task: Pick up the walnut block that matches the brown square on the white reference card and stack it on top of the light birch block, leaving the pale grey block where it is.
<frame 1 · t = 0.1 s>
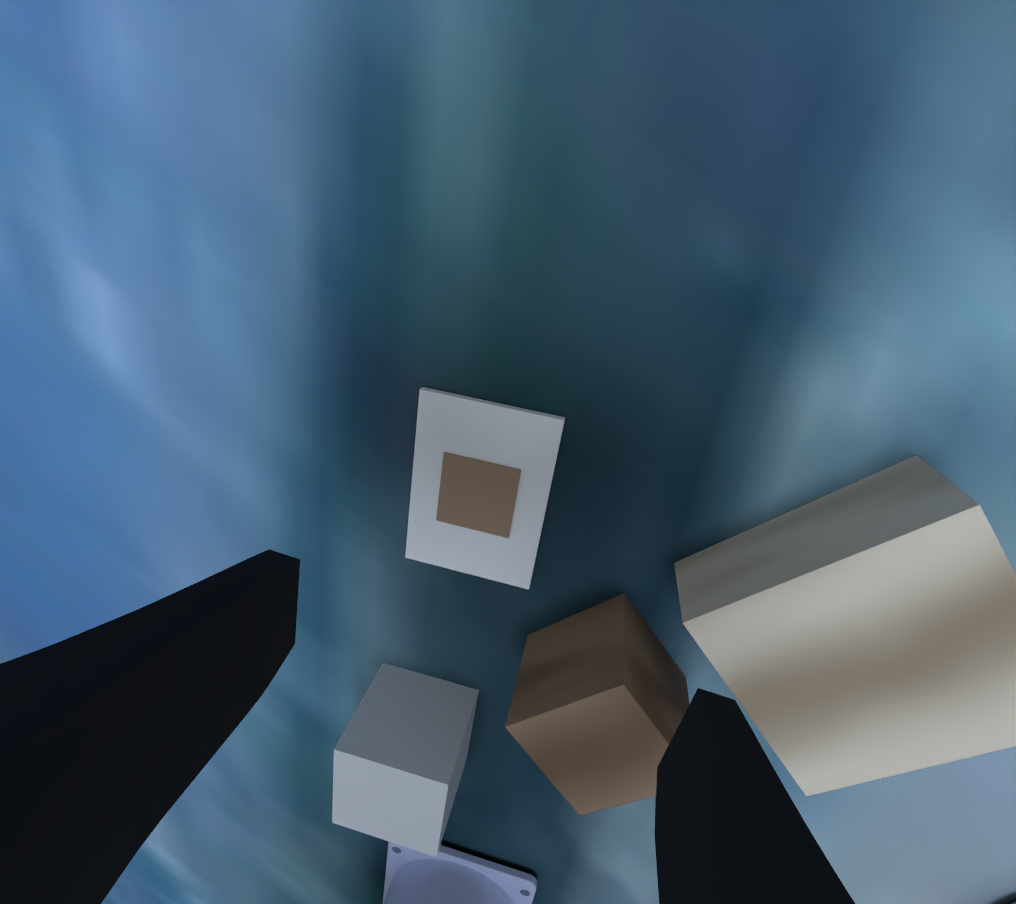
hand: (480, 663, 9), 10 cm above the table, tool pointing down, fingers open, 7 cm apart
walnut block: (605, 654, 21), on the table
grey block: (426, 709, 25), on the table
birch base block: (836, 596, 19), on the table
reference card: (479, 491, 19), on the table
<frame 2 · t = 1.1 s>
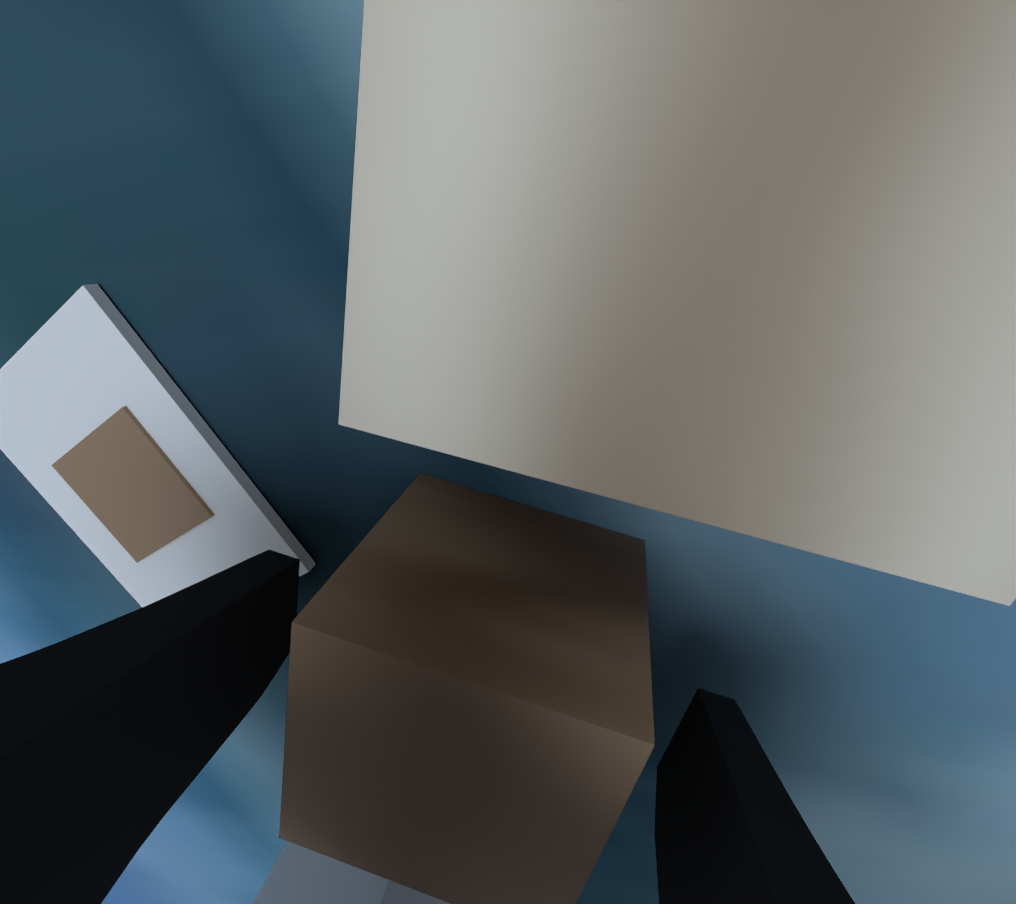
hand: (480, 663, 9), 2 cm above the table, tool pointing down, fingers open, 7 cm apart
walnut block: (506, 593, 11), on the table
grey block: (414, 836, 15), on the table
birch base block: (723, 164, 8), on the table
reference card: (145, 482, 12), on the table
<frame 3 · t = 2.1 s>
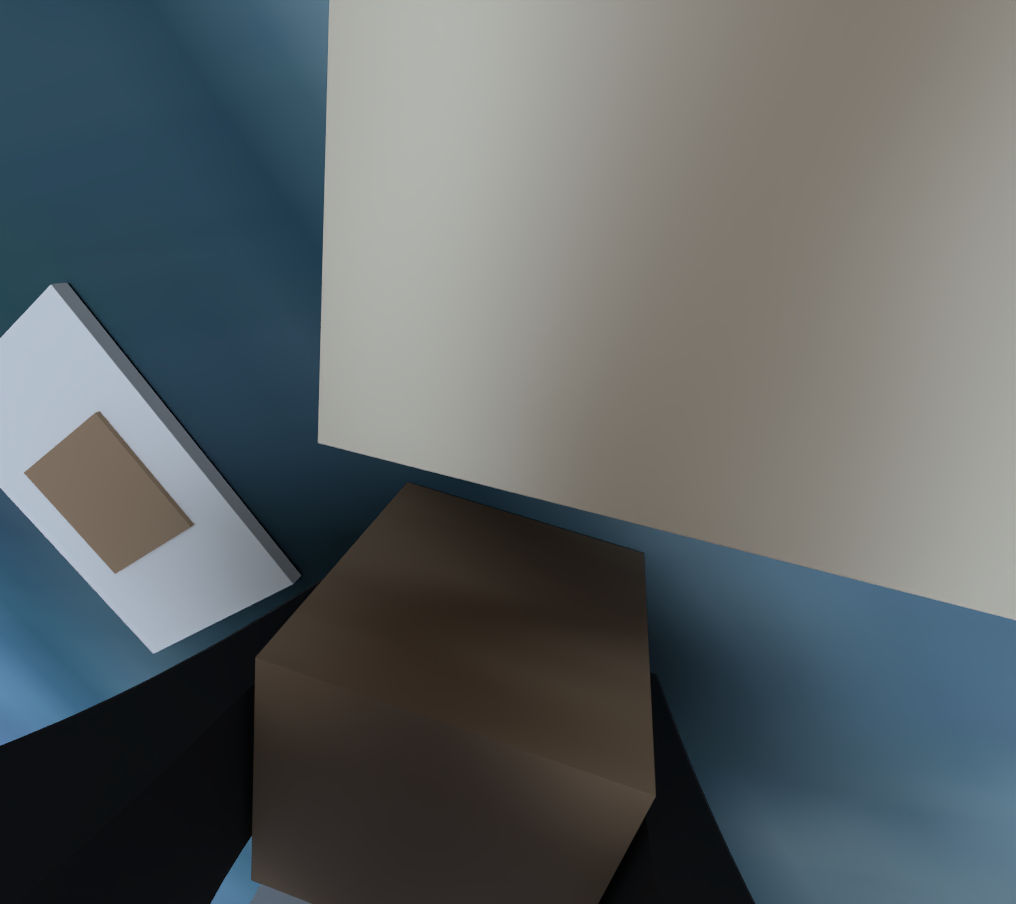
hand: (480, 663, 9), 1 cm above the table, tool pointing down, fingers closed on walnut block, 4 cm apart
walnut block: (497, 610, 11), on the table, touching gripper
grey block: (406, 853, 15), on the table
birch base block: (729, 154, 7), on the table
reference card: (122, 490, 11), on the table
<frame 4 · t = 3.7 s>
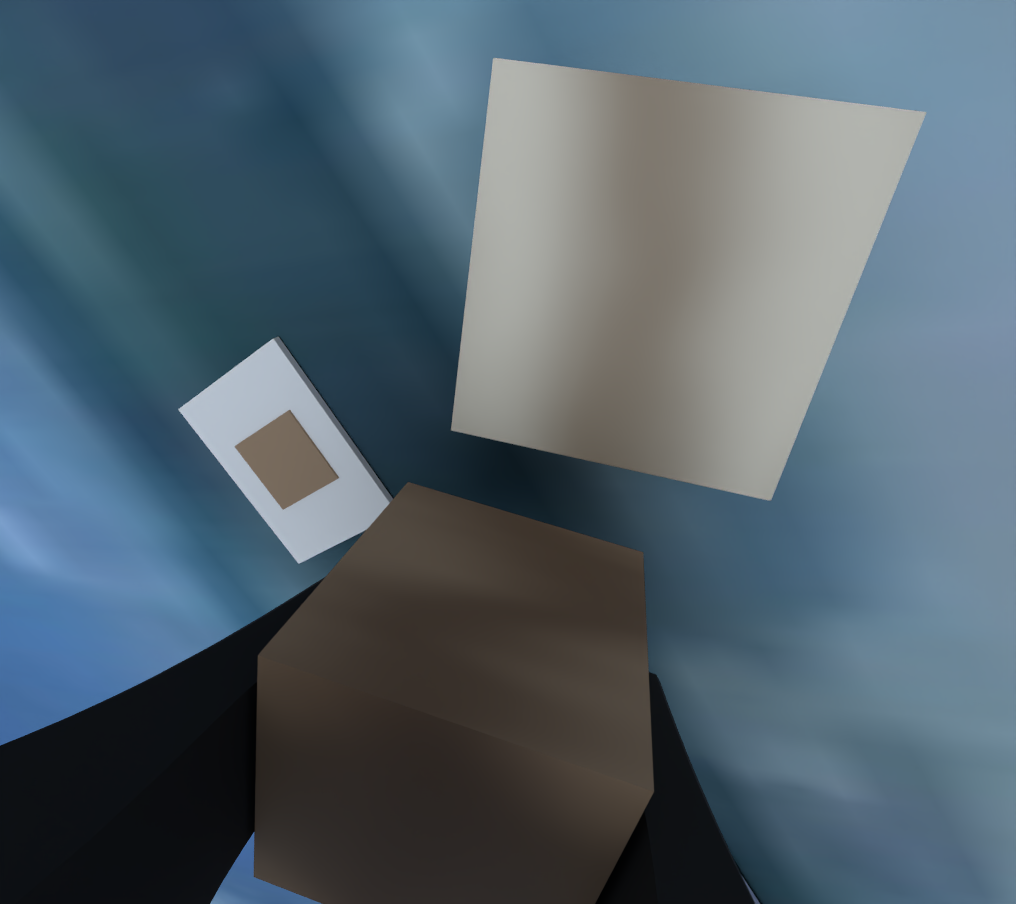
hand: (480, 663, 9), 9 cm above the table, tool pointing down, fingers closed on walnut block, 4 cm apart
walnut block: (498, 609, 11), point 7 cm above the table, touching gripper
birch base block: (641, 285, 15), on the table
reference card: (292, 458, 19), on the table
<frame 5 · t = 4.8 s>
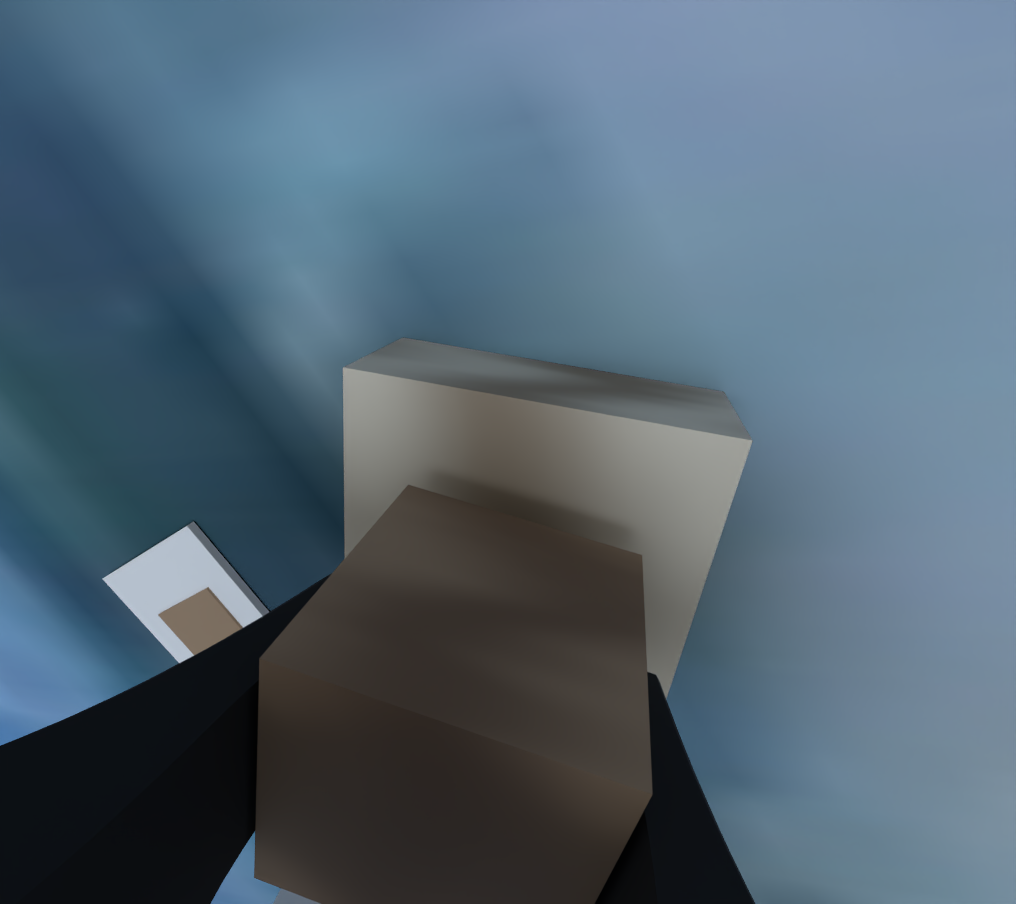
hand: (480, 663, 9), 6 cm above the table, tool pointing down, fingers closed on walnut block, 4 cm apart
walnut block: (497, 611, 11), point 4 cm above the table, touching gripper
grey block: (388, 842, 22), on the table
birch base block: (535, 498, 15), on the table
reference card: (215, 624, 19), on the table
when the fingers open (6 cm above the table, at t = 5.3 s): walnut block drops 1 cm, point 3 cm above the table.
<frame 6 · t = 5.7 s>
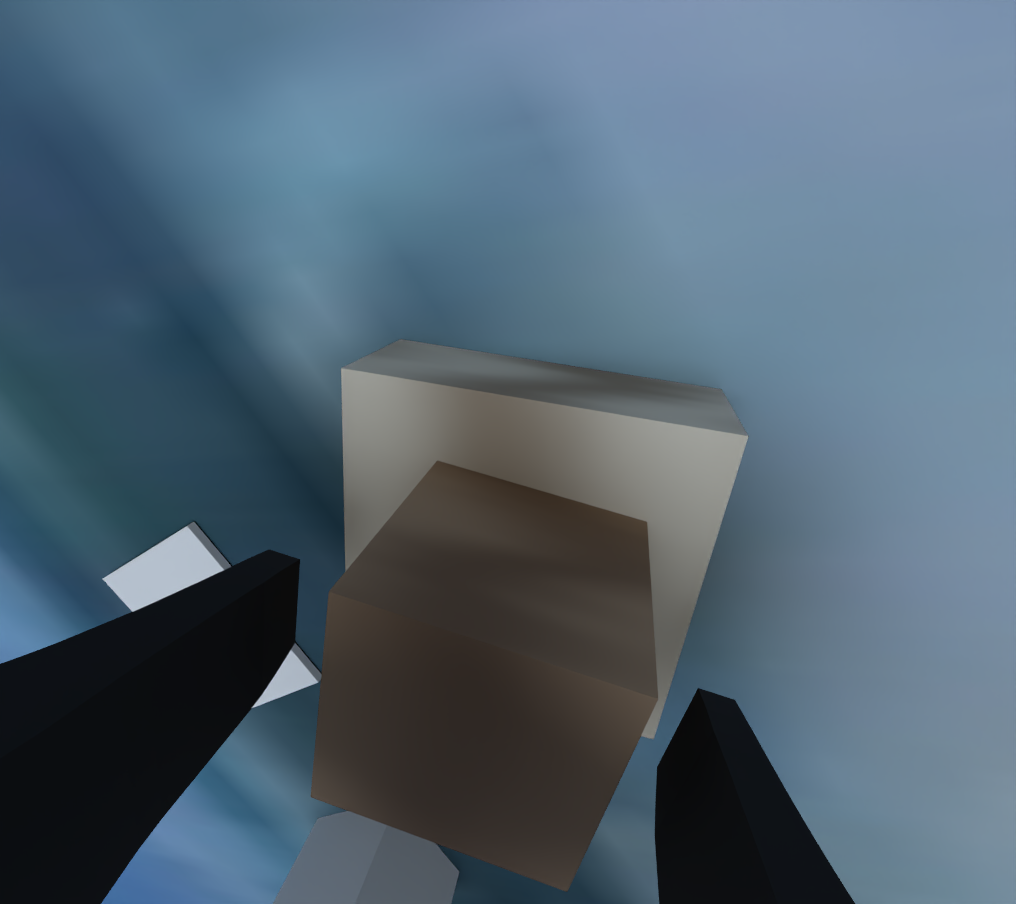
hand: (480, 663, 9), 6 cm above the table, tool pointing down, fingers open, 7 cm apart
walnut block: (516, 576, 12), point 3 cm above the table
grey block: (388, 842, 22), on the table
birch base block: (535, 498, 15), on the table
reference card: (215, 624, 19), on the table
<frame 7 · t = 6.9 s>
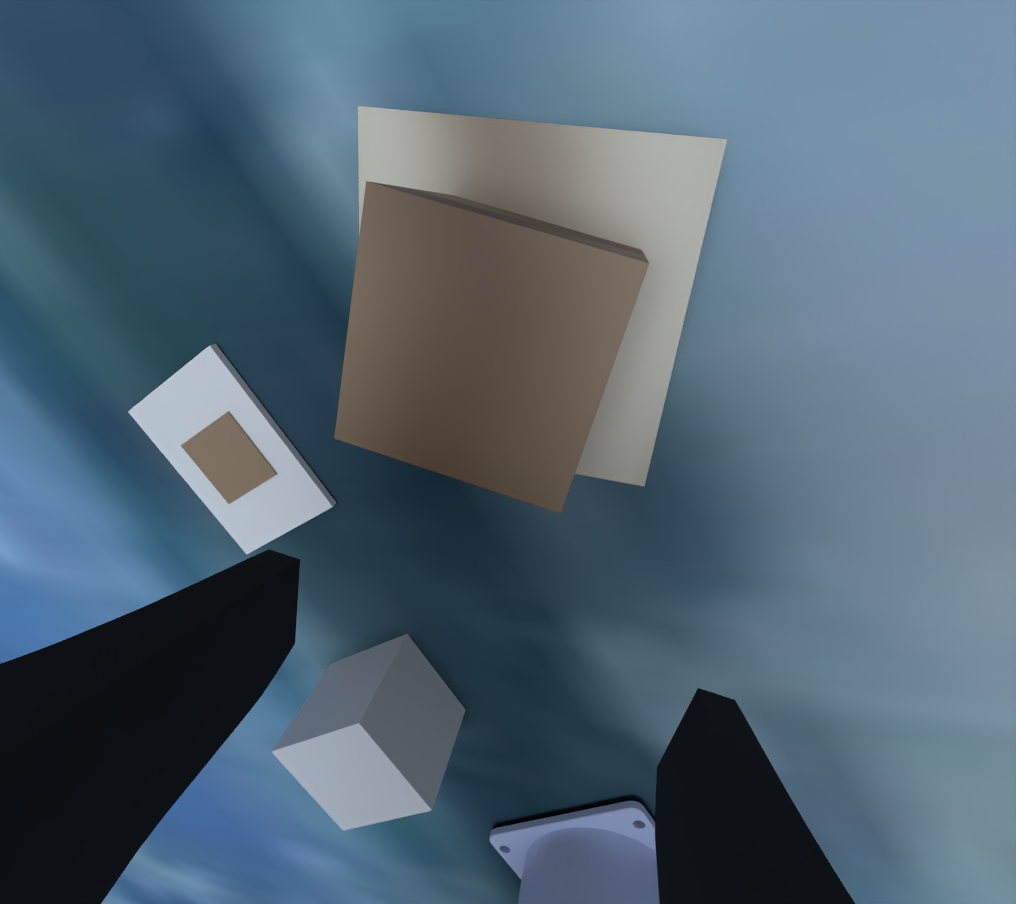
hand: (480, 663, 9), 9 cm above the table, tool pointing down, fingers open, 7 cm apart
walnut block: (519, 318, 13), point 3 cm above the table, touching birch base block
grey block: (398, 685, 24), on the table
birch base block: (535, 294, 16), on the table, touching walnut block
reference card: (235, 455, 20), on the table
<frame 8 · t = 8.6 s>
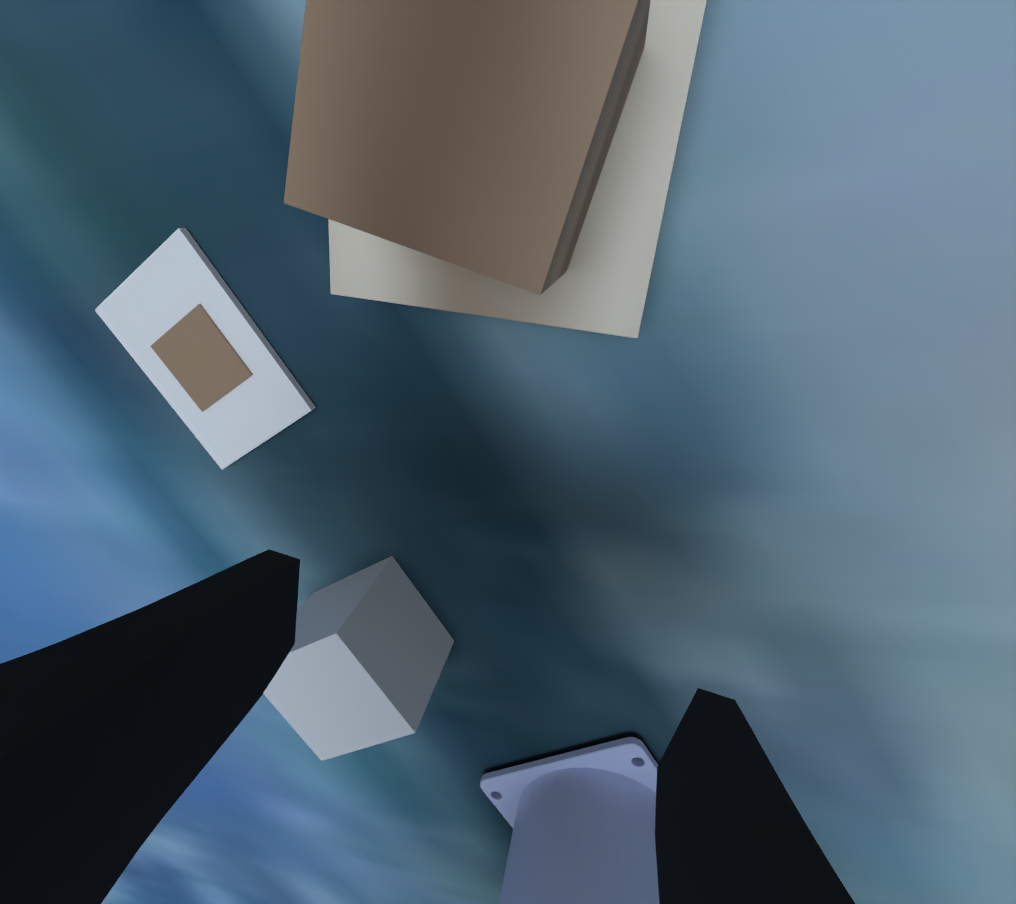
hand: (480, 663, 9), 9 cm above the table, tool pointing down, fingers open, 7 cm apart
walnut block: (506, 135, 12), point 3 cm above the table
grey block: (383, 615, 22), on the table
birch base block: (520, 152, 15), on the table
reference card: (208, 357, 19), on the table
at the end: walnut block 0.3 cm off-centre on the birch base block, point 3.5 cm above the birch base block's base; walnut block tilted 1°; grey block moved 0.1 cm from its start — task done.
